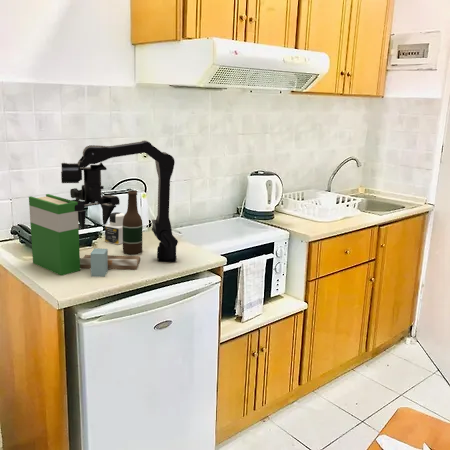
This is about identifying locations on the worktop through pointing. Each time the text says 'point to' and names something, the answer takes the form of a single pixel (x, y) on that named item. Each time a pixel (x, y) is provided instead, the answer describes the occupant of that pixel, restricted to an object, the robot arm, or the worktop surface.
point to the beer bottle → (132, 227)
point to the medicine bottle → (114, 229)
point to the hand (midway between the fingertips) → (93, 226)
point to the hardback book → (55, 234)
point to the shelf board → (114, 262)
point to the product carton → (99, 262)
